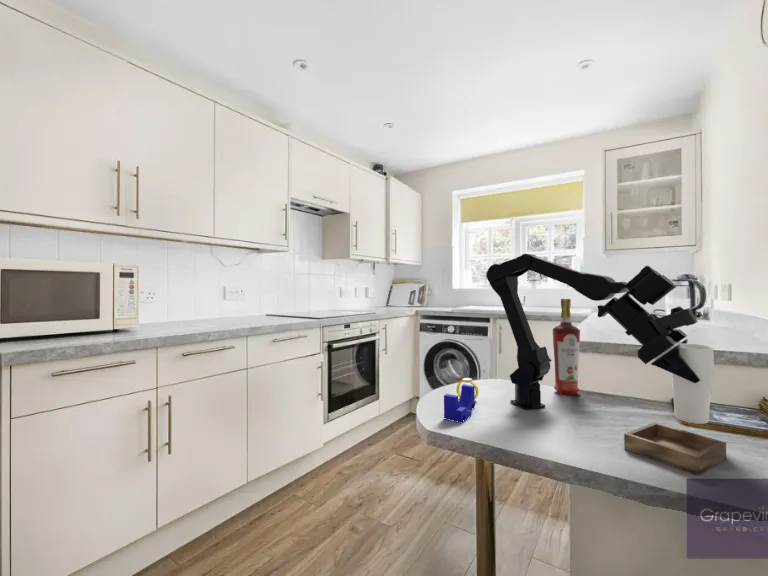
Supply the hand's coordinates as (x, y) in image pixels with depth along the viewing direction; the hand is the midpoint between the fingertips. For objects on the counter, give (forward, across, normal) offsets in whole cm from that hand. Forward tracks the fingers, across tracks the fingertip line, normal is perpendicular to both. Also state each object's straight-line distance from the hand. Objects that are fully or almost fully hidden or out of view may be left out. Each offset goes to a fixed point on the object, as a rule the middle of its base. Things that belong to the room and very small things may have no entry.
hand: (700, 378), depth 73 cm
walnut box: (+7, -8, +11) cm, 16 cm away
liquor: (-13, +18, +32) cm, 39 cm away
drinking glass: (+5, 0, +7) cm, 9 cm away
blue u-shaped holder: (-21, -18, +41) cm, 49 cm away
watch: (-25, -7, +45) cm, 52 cm away
